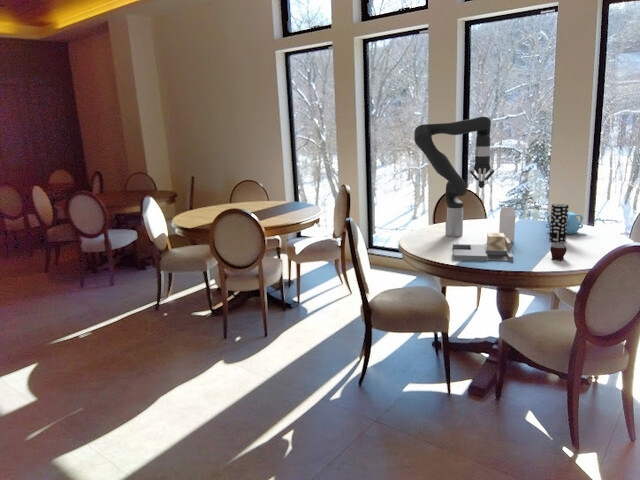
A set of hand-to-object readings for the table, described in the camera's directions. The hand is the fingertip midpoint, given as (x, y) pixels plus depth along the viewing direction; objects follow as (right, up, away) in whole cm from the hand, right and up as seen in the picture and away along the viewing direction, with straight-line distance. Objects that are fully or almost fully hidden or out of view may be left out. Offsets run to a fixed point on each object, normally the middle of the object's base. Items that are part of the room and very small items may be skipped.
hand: (481, 187), depth 265 cm
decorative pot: (+58, -24, +29) cm, 69 cm away
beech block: (+5, -32, -7) cm, 33 cm away
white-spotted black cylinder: (+46, -28, +11) cm, 55 cm away
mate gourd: (+30, -38, -23) cm, 53 cm away
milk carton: (+20, -28, +17) cm, 38 cm away
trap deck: (-3, -35, -9) cm, 37 cm away
